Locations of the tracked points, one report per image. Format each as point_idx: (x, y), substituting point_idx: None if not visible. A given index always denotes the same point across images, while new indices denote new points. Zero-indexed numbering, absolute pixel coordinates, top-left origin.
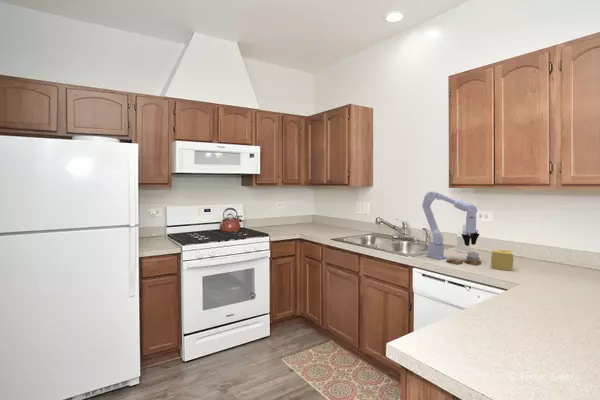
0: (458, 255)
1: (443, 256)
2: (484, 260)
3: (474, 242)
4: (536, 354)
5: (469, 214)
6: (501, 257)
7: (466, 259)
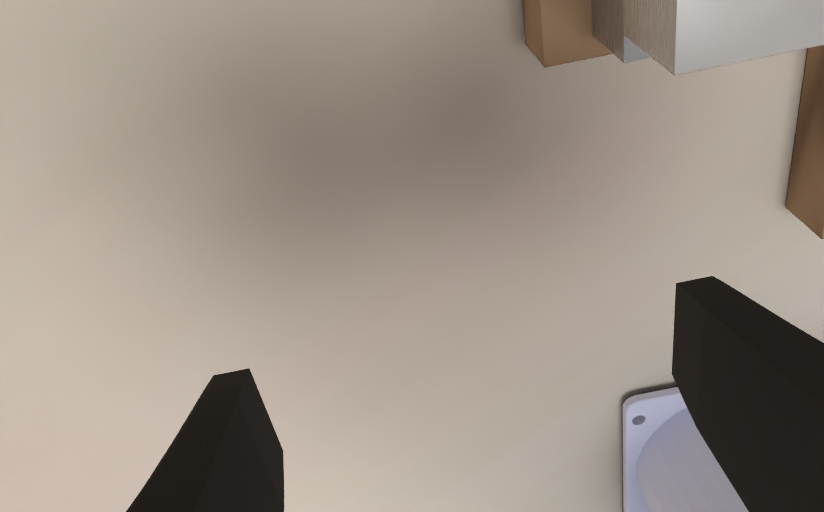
0: None
1: (632, 440)
2: (40, 22)
3: (243, 443)
4: None
5: None
6: None
7: None
